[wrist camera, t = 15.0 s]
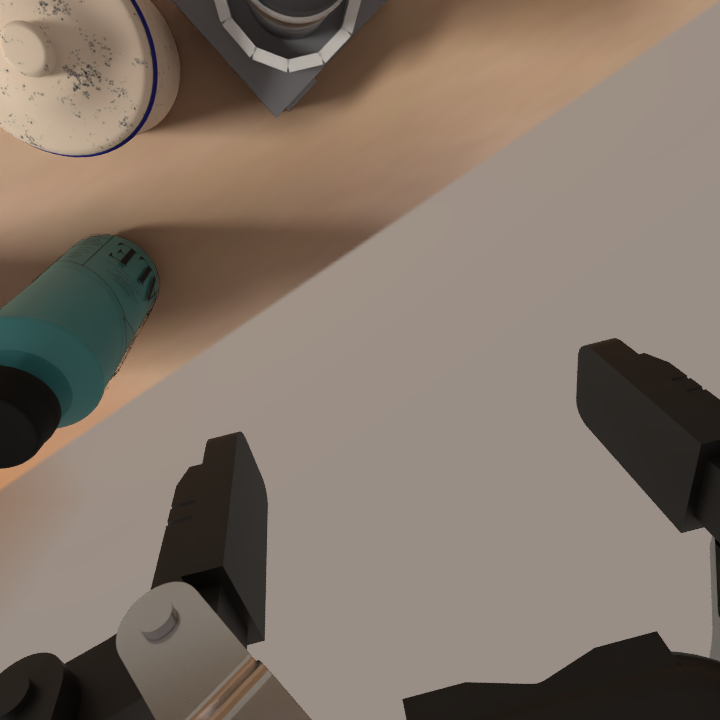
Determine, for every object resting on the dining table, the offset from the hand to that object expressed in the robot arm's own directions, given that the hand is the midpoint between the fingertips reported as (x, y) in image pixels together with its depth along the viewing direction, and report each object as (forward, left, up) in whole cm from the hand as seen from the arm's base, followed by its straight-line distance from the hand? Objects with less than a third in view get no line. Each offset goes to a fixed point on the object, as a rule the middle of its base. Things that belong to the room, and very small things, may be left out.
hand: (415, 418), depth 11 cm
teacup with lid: (-6, +15, -28) cm, 33 cm away
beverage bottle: (-15, +6, -28) cm, 33 cm away
